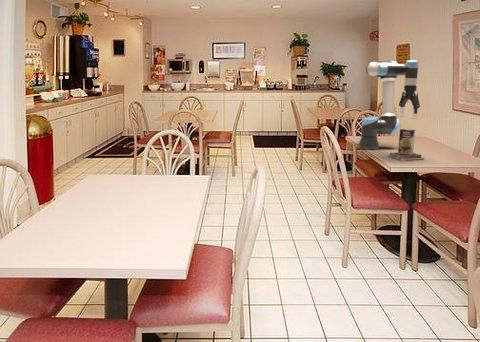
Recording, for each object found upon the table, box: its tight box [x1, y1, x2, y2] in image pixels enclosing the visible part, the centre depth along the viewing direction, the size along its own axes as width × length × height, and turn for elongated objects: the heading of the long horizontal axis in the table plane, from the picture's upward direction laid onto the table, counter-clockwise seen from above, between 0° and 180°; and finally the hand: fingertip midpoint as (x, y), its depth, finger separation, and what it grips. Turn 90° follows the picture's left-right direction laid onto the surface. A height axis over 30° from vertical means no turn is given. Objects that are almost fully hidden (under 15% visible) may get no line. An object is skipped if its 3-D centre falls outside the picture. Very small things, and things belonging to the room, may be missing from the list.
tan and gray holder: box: [387, 151, 425, 162], centre depth 317 cm, size 17×16×3 cm
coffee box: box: [397, 128, 416, 155], centre depth 315 cm, size 9×6×16 cm
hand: (408, 117), depth 312 cm, fingers open, 13 cm apart
